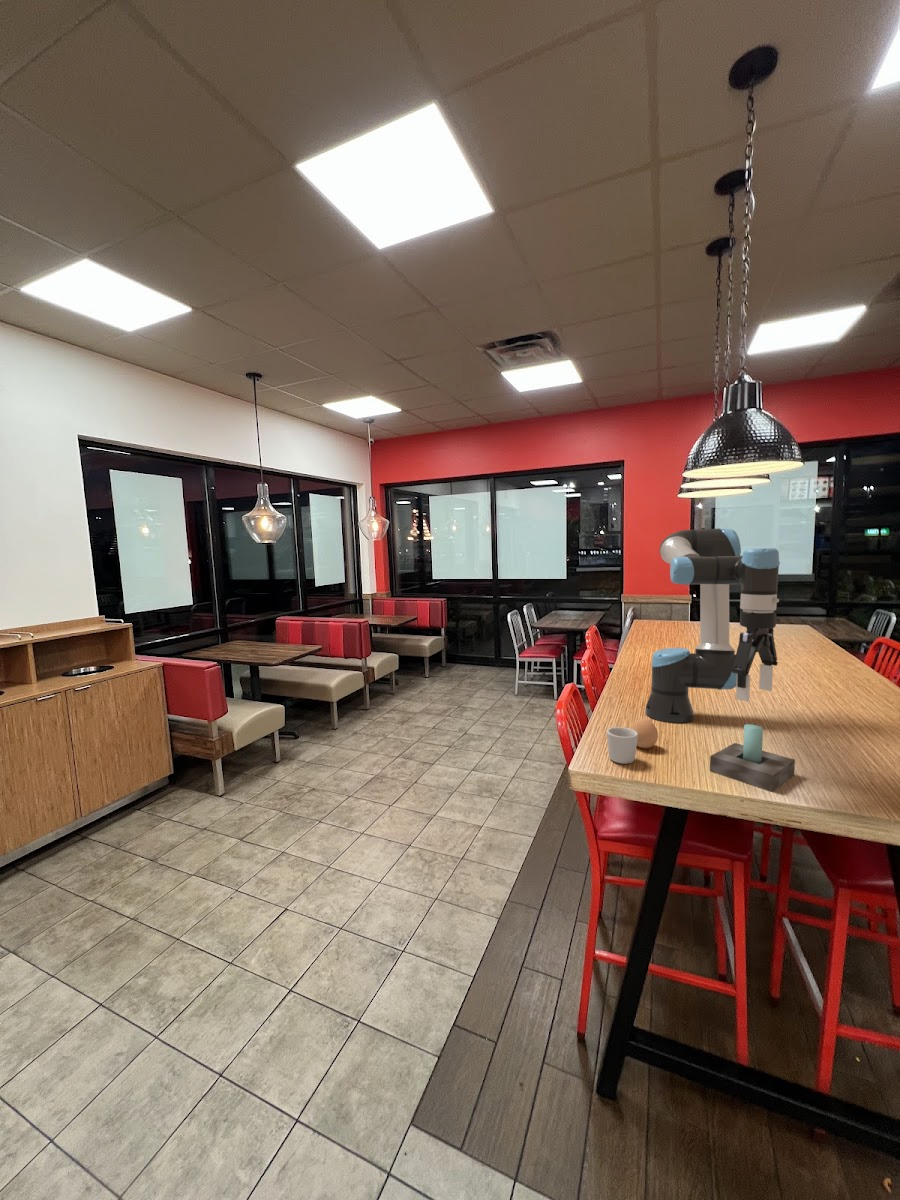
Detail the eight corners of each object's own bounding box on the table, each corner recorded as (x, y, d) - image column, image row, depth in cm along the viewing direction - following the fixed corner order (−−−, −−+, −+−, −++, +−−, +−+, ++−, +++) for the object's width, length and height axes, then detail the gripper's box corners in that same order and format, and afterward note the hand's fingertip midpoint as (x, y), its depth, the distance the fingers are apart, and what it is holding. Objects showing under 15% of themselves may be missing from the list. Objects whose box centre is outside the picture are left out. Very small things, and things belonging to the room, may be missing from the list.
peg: (739, 772, 121) (741, 726, 120) (746, 768, 123) (748, 723, 122) (757, 778, 118) (759, 731, 117) (763, 773, 120) (765, 727, 119)
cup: (597, 751, 136) (598, 723, 135) (624, 749, 136) (625, 722, 136) (613, 767, 125) (614, 737, 124) (642, 765, 126) (643, 736, 125)
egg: (624, 745, 140) (625, 716, 139) (643, 741, 143) (644, 713, 142) (644, 754, 133) (644, 724, 132) (663, 749, 136) (664, 720, 135)
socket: (709, 770, 122) (710, 755, 122) (734, 756, 130) (734, 742, 130) (771, 791, 111) (772, 775, 110) (794, 774, 119) (794, 759, 119)
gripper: (753, 617, 107) (749, 709, 109) (794, 607, 121) (790, 688, 123) (718, 614, 113) (715, 701, 115) (761, 605, 127) (758, 682, 129)
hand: (754, 695), depth 119 cm, fingers open, 13 cm apart
